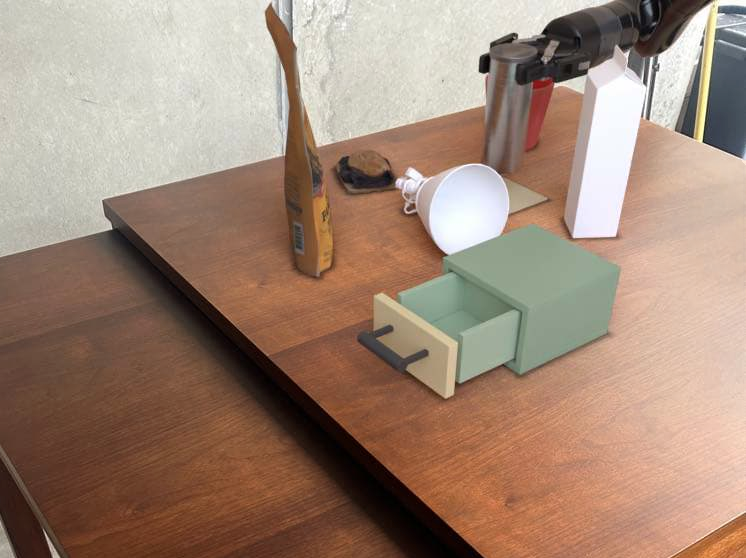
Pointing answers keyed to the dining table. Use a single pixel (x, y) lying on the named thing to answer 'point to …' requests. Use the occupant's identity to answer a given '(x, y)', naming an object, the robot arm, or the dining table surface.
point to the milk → (604, 148)
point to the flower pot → (536, 108)
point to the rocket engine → (458, 205)
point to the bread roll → (365, 172)
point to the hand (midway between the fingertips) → (500, 70)
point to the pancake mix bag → (302, 167)
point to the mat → (521, 196)
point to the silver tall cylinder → (506, 108)
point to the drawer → (443, 331)
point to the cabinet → (543, 289)
